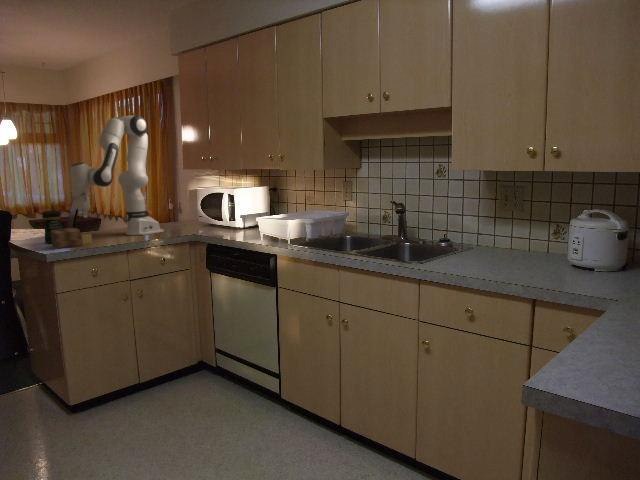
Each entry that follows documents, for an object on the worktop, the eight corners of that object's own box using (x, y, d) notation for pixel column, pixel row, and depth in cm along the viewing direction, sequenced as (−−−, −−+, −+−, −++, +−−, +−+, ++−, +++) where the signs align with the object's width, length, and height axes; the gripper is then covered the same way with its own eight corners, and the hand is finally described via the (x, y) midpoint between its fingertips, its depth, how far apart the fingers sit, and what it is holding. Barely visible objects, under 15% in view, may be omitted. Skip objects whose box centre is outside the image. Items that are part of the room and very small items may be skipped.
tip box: (76, 243, 286) (74, 227, 284) (81, 246, 276) (79, 229, 275) (52, 246, 278) (50, 230, 277) (57, 249, 269) (55, 232, 267)
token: (91, 242, 289) (90, 233, 288) (92, 242, 287) (91, 234, 286) (81, 243, 286) (80, 234, 285) (82, 243, 284) (81, 235, 283)
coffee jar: (46, 244, 286) (42, 212, 283) (44, 242, 293) (40, 211, 290) (65, 242, 292) (61, 210, 289) (62, 240, 298) (58, 209, 295)
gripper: (92, 192, 275) (94, 217, 277) (82, 191, 291) (84, 215, 293) (79, 193, 271) (82, 218, 273) (70, 192, 287) (72, 216, 289)
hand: (83, 216), depth 283 cm, fingers open, 8 cm apart
